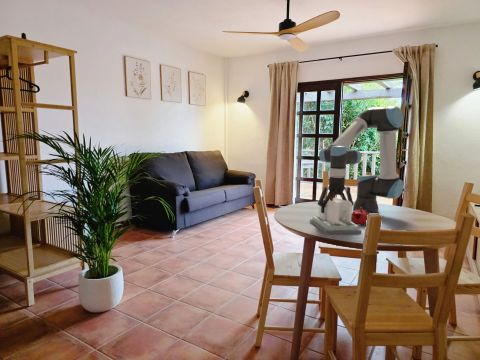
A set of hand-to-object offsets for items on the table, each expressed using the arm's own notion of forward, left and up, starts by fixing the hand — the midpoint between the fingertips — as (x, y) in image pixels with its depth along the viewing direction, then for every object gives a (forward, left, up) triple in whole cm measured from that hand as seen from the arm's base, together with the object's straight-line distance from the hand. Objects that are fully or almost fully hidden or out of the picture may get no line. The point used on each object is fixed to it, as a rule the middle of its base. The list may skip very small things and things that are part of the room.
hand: (334, 219), depth 158 cm
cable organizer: (0, 0, -2) cm, 2 cm away
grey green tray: (0, 0, -4) cm, 4 cm away
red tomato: (-17, -6, -5) cm, 19 cm away
